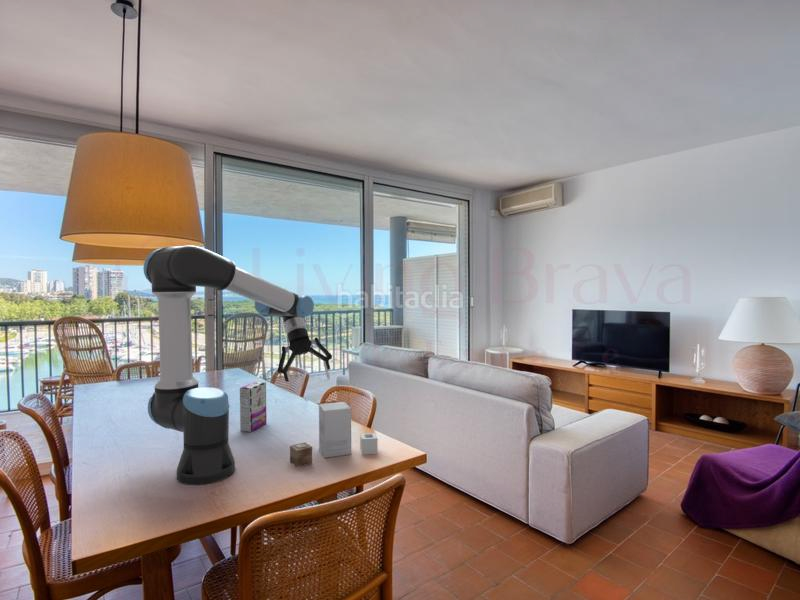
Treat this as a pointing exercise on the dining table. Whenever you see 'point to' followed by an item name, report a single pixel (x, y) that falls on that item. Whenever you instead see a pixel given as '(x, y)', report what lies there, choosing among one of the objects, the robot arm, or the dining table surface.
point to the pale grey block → (368, 443)
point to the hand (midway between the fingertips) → (310, 384)
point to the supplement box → (334, 429)
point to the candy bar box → (252, 406)
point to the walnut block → (301, 454)
